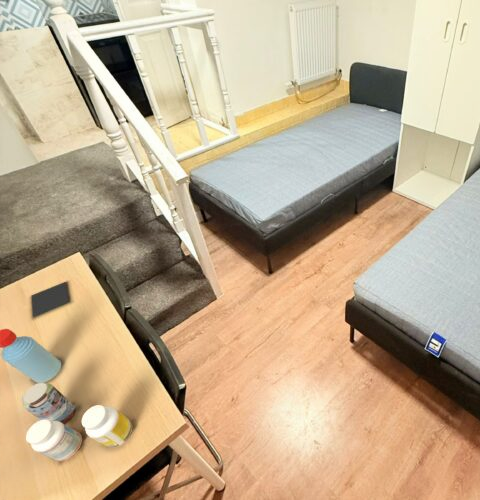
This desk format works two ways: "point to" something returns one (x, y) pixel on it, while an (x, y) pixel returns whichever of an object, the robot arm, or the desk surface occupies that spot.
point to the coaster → (49, 299)
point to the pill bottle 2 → (106, 425)
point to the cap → (6, 337)
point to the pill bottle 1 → (54, 439)
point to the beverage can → (48, 403)
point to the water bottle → (31, 359)
